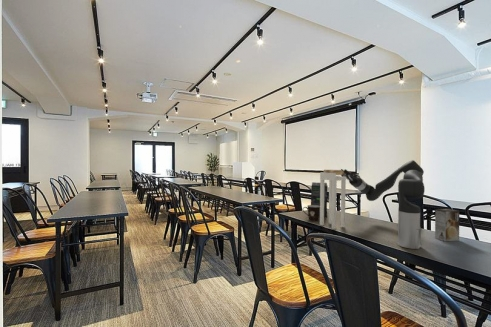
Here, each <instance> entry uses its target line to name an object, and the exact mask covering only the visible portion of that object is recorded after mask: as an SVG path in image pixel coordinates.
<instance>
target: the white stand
mask: <svg viewBox="0 0 491 327" xmlns="http://www.w3.org/2000/svg"><path fill="white" fill-rule="evenodd" d="M319 173H320V174H319V180H320V182H319V183H320V217H319V225H320V226H324V225H325V218H324V183H325V181H328V224H329V225H331V230H337V189H338V188H337V187H338V186H337V182H338V181H340V182H341V183H340V184H341V185H340V187H341V188H340V228H342V227H345V228H346V184H347V183H346V181H347V179H346V177H342V176H341V175H336V173H324V171H323V172H319Z"/></svg>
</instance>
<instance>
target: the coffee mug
mask: <svg viewBox="0 0 491 327" xmlns="http://www.w3.org/2000/svg"><path fill="white" fill-rule="evenodd" d="M304 209H307V212H305V210H304ZM319 211H320V206H318V205H311V204H309V205H307V206H304V207H302V212H303V213H304V214H305V215H307V217H308V221H310V222H319V220H320V217H319Z"/></svg>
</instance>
